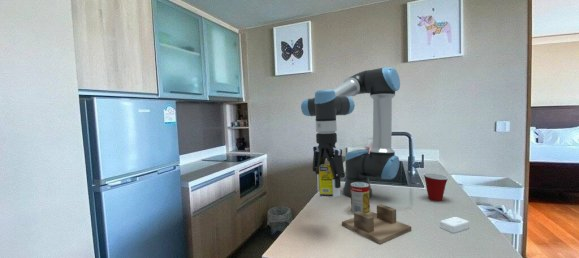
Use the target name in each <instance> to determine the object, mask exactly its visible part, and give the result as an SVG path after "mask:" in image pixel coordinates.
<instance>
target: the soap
mask: <svg viewBox="0 0 579 258" xmlns="http://www.w3.org/2000/svg"><path fill="white" fill-rule="evenodd" d="M439 227H440V229H443V230H444V231H448V232H449V233H452V234H456V233H458V232H459V233H460V232H463V231H465V230H468V229H469V228H470V221H469V220H467V219H464V218H462V217H458V216H453V217H449V218H446V219H442V220H440V221H439Z"/></svg>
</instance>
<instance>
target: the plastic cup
mask: <svg viewBox="0 0 579 258" xmlns="http://www.w3.org/2000/svg"><path fill="white" fill-rule="evenodd" d="M423 177H424V182H425V186H426V191H427V197H428V199H429V200H430V201H434V202H442V201H443V200H444V199H443V198H444V194H445V190H446V185H447V182H448V180H449V179H450V178H449V176H448V175H444V174H440V173H436V172H435V173H433V172H425V173H423Z"/></svg>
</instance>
